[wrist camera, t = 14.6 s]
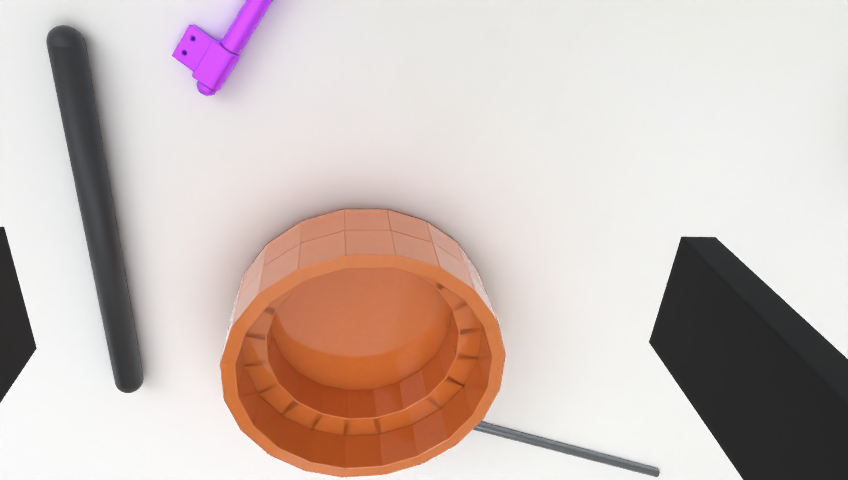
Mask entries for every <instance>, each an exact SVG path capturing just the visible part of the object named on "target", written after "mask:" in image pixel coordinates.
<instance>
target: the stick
mask: <svg viewBox="0 0 848 480" xmlns="http://www.w3.org/2000/svg"><path fill="white" fill-rule="evenodd" d="M47 47H48V52H49V57H50V62H51V67H52V72H53V77H54V82H55V87H56V92H57V97H58V102H59V107H60V112H61V117H62V122H63V127H64V132H65V137H66V142H67V147H68V152H69V156H70V161H71V166H72V171H73V176H74V181H75V186H76V191H77V196H78V201H79V206H80V211H81V216H82V221H83V226H84V231H85V236H86V241H87V246H88V251H89V256H90V261H91V266H92V270H93V275H94V280H95V285H96V290H97V295H98V300H99V305H100V310H101V315H102V320H103V325H104V330H105V335H106V340H107V345H108V350H109V355H110V360H111V365H112V370H113V375H114V380H115V384H116V387H117V388H118V389H119V390H120V391H122V392H125V393H131V392H134V391H136V390H138V389H139V388H140V387H141V385H142V383H143V373H142V367H141V361H140V356H139V350H138V344H137V338H136V333H135V327H134V321H133V315H132V310H131V304H130V298H129V292H128V287H127V281H126V275H125V269H124V264H123V258H122V252H121V246H120V241H119V235H118V229H117V223H116V218H115V212H114V206H113V201H112V195H111V189H110V183H109V178H108V172H107V166H106V160H105V155H104V149H103V143H102V137H101V132H100V126H99V120H98V114H97V109H96V103H95V97H94V91H93V86H92V80H91V74H90V68H89V63H88V57H87V51H86V46H85V41H84V38H83V36H82V35H81V34H80V33H79V32H78V31H77V30H76V29H74V28H72V27H69V26H57V27H55V28H53V29H52V30H51V31H50V32H49V33H48V36H47Z"/></svg>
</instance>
